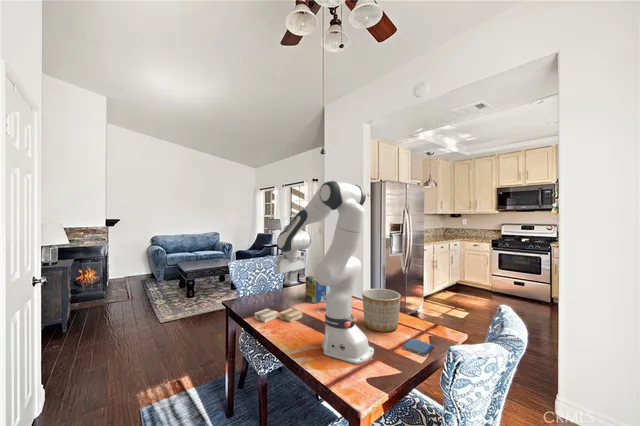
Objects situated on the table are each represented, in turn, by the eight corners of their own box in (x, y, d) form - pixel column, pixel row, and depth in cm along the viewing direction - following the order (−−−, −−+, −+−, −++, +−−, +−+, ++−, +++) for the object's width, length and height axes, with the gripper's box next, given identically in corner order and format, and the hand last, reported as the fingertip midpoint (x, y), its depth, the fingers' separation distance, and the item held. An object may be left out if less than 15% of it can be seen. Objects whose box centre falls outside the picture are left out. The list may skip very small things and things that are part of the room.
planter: (371, 315, 155) (371, 286, 155) (405, 323, 144) (405, 292, 144) (355, 327, 139) (355, 295, 139) (392, 337, 128) (392, 302, 128)
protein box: (305, 300, 181) (305, 276, 181) (322, 295, 192) (322, 273, 191) (315, 304, 173) (315, 279, 173) (332, 298, 184) (332, 275, 184)
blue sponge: (410, 341, 126) (410, 336, 126) (434, 348, 119) (434, 344, 119) (400, 349, 118) (400, 345, 118) (425, 358, 111) (425, 353, 111)
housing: (299, 284, 150) (299, 269, 150) (292, 286, 146) (292, 271, 146) (289, 282, 155) (289, 267, 155) (282, 283, 151) (282, 269, 152)
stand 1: (277, 317, 151) (277, 312, 151) (265, 322, 144) (265, 317, 144) (267, 313, 157) (267, 308, 157) (254, 318, 150) (254, 312, 150)
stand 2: (302, 317, 152) (302, 311, 152) (290, 322, 145) (290, 316, 145) (290, 313, 158) (290, 308, 158) (279, 318, 151) (279, 312, 151)
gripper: (280, 257, 141) (280, 283, 141) (307, 252, 157) (307, 276, 157) (272, 255, 145) (272, 281, 145) (299, 251, 161) (299, 275, 161)
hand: (291, 279), depth 151 cm, fingers closed on housing, 5 cm apart
